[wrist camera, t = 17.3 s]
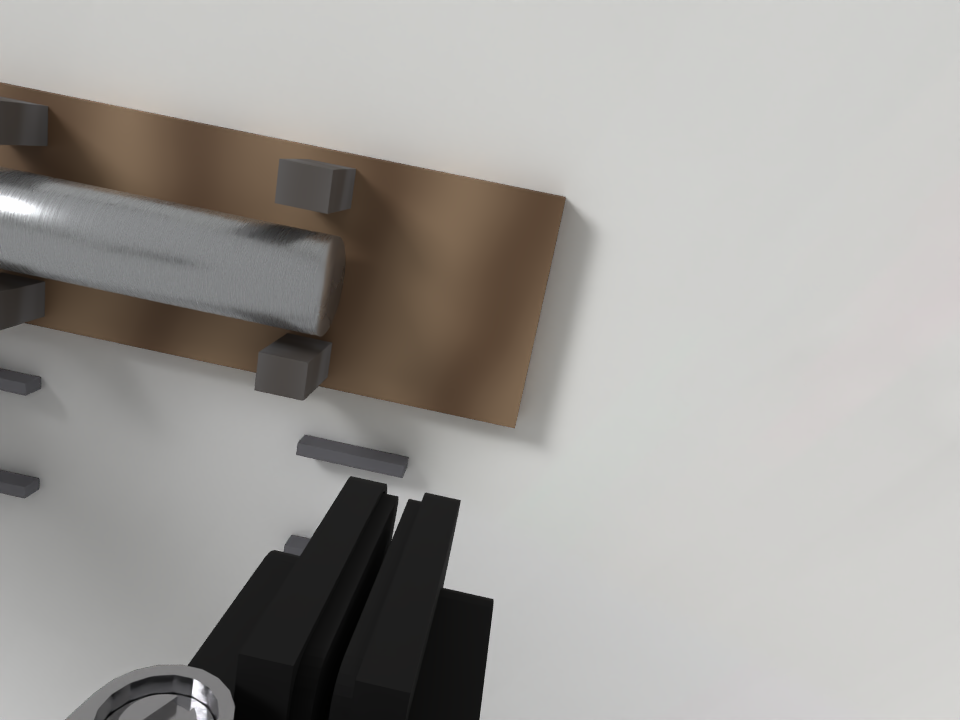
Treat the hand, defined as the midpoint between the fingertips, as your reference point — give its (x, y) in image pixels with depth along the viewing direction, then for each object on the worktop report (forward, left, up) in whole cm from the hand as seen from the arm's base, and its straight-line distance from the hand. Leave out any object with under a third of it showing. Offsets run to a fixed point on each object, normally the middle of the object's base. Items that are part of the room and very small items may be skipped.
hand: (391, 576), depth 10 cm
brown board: (-14, 0, -21) cm, 25 cm away
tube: (-18, 0, -20) cm, 27 cm away
